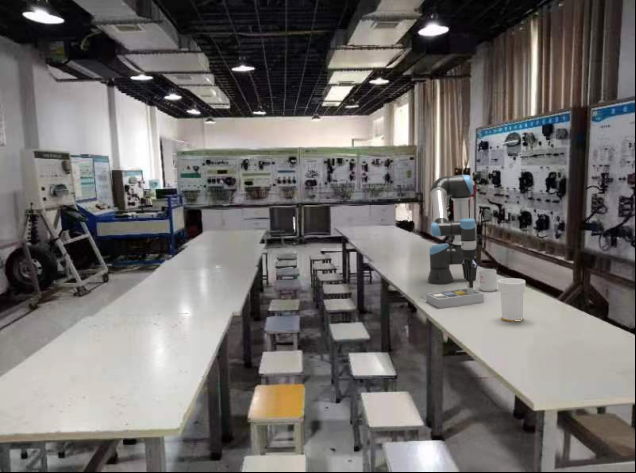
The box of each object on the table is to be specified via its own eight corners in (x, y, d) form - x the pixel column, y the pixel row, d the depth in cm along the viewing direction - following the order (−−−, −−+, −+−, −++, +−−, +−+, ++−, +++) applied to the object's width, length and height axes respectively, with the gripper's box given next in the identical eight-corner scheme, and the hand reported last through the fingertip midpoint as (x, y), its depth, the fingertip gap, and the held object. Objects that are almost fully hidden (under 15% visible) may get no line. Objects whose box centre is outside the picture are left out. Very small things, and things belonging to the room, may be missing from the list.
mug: (500, 290, 263) (499, 270, 261) (488, 292, 259) (487, 272, 258) (484, 286, 273) (483, 267, 272) (472, 288, 270) (471, 269, 268)
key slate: (443, 297, 246) (443, 293, 246) (451, 296, 247) (450, 292, 246) (447, 299, 242) (447, 295, 241) (455, 298, 242) (455, 293, 242)
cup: (512, 324, 204) (511, 285, 202) (493, 318, 215) (492, 280, 213) (531, 319, 209) (531, 281, 207) (512, 313, 219) (511, 276, 217)
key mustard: (453, 295, 247) (453, 291, 247) (461, 294, 248) (461, 290, 248) (458, 297, 243) (457, 293, 242) (465, 296, 244) (465, 292, 243)
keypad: (426, 302, 249) (426, 293, 249) (469, 296, 254) (469, 287, 254) (438, 308, 236) (438, 299, 235) (483, 302, 241) (483, 293, 240)
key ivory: (432, 298, 245) (432, 294, 244) (440, 297, 246) (440, 293, 245) (436, 300, 240) (436, 296, 240) (444, 299, 241) (444, 295, 241)
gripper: (455, 247, 249) (457, 291, 252) (468, 251, 237) (470, 297, 239) (468, 246, 251) (470, 290, 253) (482, 249, 238) (483, 295, 241)
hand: (470, 293), depth 246 cm, fingers closed
